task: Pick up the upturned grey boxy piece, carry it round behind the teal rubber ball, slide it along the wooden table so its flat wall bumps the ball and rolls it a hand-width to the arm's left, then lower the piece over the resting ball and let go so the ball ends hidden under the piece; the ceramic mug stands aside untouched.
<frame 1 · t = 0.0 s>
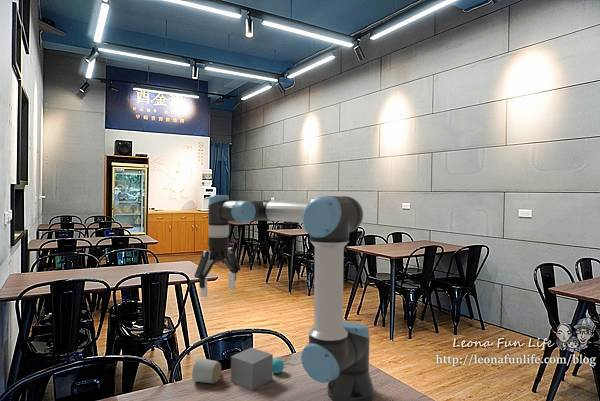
hand: (218, 293, 149), 28 cm above the table, tool pointing down, fingers open, 13 cm apart
grey boxy piece: (251, 380, 139), on the table
ball: (276, 365, 145), on the table
ceramic mug: (208, 380, 139), on the table
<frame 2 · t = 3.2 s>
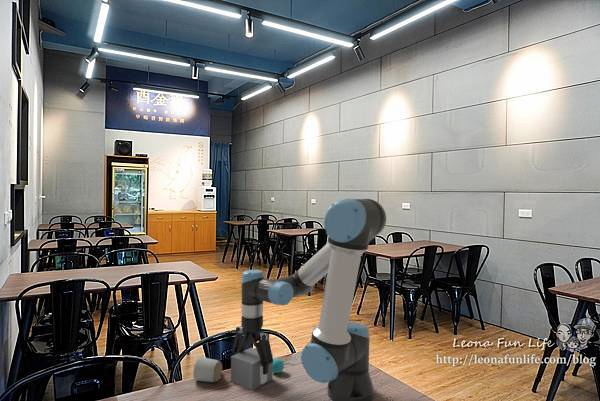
hand: (251, 378, 139), 1 cm above the table, tool pointing down, fingers closed on grey boxy piece, 10 cm apart
grey boxy piece: (251, 380, 139), on the table, touching gripper
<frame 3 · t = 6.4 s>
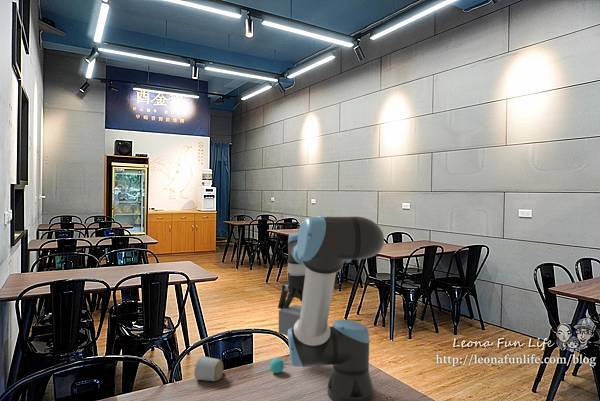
hand: (297, 330, 155), 12 cm above the table, tool pointing down, fingers closed on grey boxy piece, 10 cm apart
grey boxy piece: (297, 332, 155), point 11 cm above the table, touching gripper
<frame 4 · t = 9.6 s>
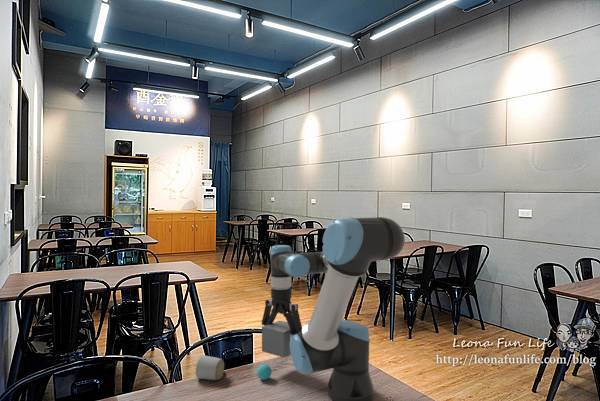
hand: (281, 347, 146), 9 cm above the table, tool pointing down, fingers closed on grey boxy piece, 10 cm apart
grey boxy piece: (281, 350, 146), point 8 cm above the table, touching gripper
ball: (264, 372, 140), on the table
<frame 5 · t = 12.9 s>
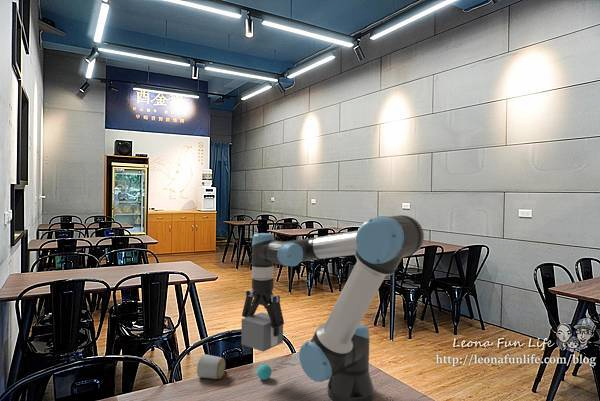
hand: (262, 341, 139), 14 cm above the table, tool pointing down, fingers closed on grey boxy piece, 10 cm apart
grey boxy piece: (262, 343, 139), point 13 cm above the table, touching gripper
when the fingers open (1 cm above the table, at t = 15.5 s): grey boxy piece stays where it is, on the table.
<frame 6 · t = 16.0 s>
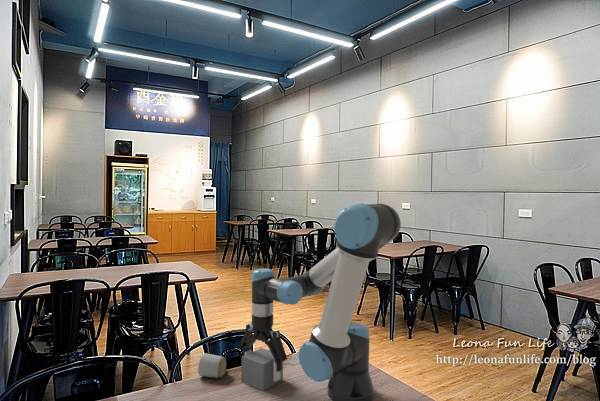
hand: (262, 374, 139), 2 cm above the table, tool pointing down, fingers open, 13 cm apart
grey boxy piece: (262, 380, 139), on the table
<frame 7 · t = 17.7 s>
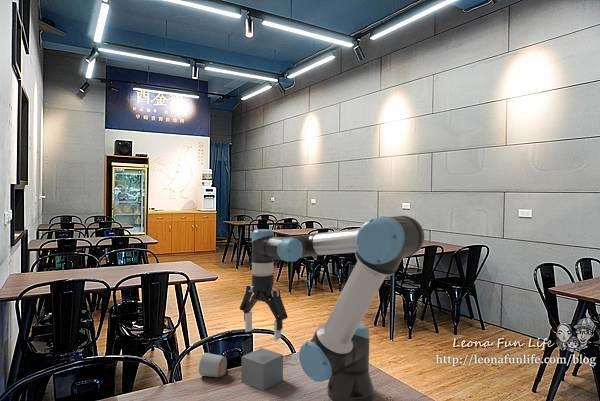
hand: (262, 335, 139), 16 cm above the table, tool pointing down, fingers open, 13 cm apart
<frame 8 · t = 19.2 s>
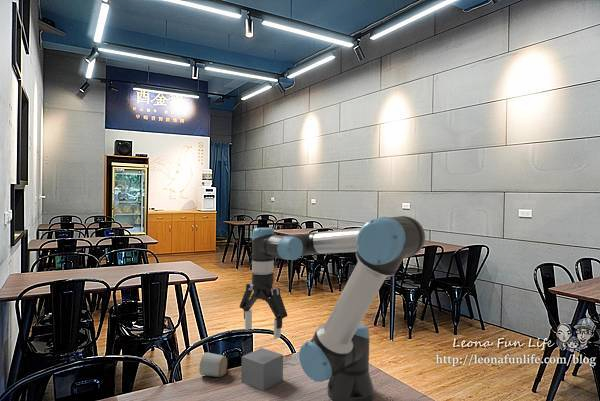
hand: (262, 333, 139), 17 cm above the table, tool pointing down, fingers open, 13 cm apart
at the end: ball 1.4 cm from the grey boxy piece (horizontally); grey boxy piece on the table; ball moved 6.5 cm from its start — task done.
